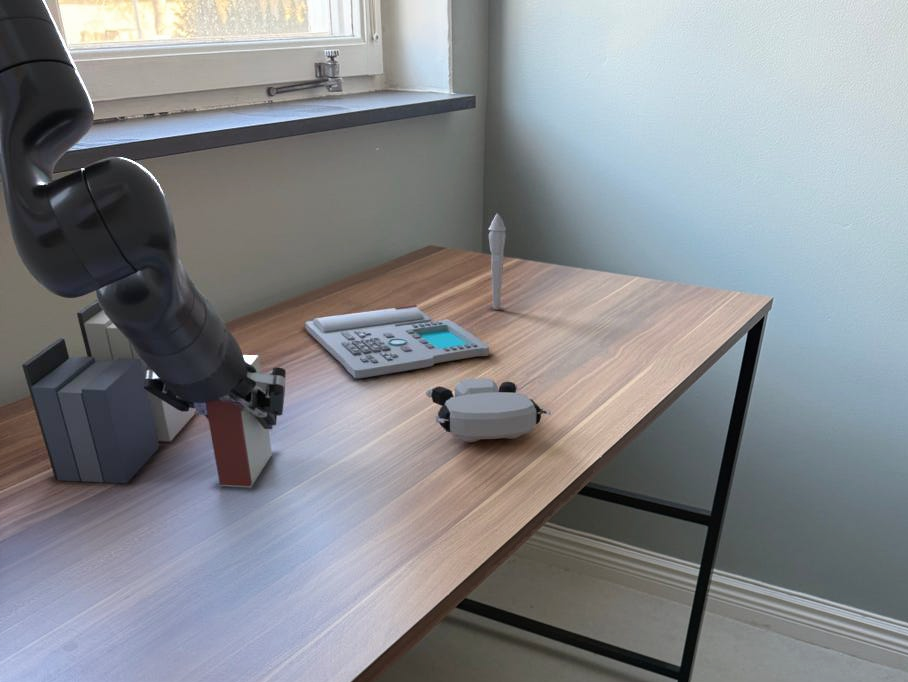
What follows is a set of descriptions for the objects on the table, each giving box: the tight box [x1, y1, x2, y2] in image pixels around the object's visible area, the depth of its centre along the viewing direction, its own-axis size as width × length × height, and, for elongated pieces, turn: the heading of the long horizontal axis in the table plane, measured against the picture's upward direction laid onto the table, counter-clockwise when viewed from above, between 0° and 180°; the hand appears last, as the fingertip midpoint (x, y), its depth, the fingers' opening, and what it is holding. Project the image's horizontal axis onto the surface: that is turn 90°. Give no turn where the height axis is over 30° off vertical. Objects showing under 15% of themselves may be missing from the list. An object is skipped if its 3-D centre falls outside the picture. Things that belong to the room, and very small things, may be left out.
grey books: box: [21, 337, 160, 484], centre depth 95 cm, size 8×9×12 cm
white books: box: [76, 298, 195, 443], centre depth 102 cm, size 7×8×14 cm
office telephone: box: [304, 304, 490, 379], centre depth 130 cm, size 23×3×20 cm
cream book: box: [206, 354, 273, 488], centre depth 94 cm, size 3×8×11 cm, turn 175°
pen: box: [487, 212, 507, 311], centre depth 140 cm, size 2×3×14 cm
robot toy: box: [425, 377, 552, 443], centre depth 106 cm, size 12×4×15 cm
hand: (245, 419), depth 96 cm, fingers open, 4 cm apart
